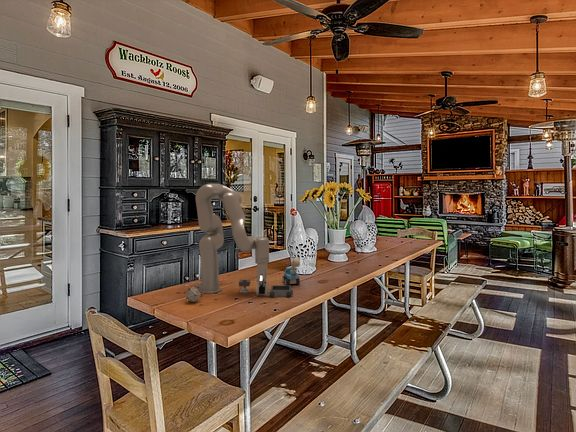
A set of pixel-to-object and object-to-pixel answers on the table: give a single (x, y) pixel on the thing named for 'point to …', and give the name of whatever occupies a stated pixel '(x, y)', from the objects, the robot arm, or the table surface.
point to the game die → (193, 294)
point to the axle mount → (244, 290)
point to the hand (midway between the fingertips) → (262, 291)
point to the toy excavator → (292, 273)
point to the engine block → (265, 288)
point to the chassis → (280, 291)
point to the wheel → (244, 283)
